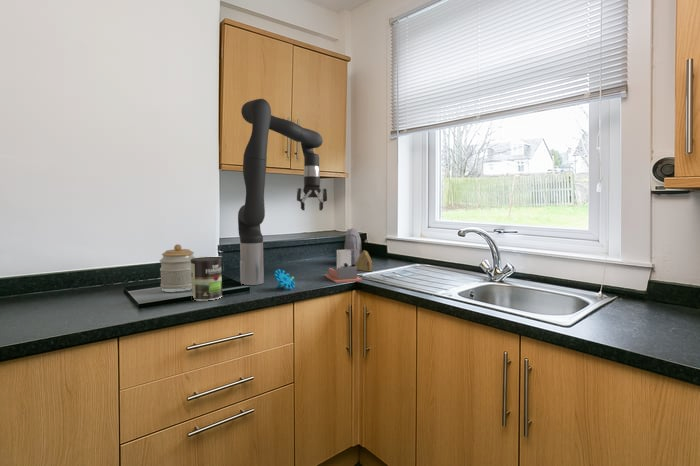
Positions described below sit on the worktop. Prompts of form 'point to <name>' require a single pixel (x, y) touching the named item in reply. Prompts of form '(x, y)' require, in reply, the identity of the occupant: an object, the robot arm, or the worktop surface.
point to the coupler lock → (343, 258)
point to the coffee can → (206, 278)
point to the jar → (176, 268)
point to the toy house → (364, 262)
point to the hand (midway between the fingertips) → (312, 210)
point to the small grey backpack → (353, 244)
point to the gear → (284, 279)
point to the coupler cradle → (343, 275)
